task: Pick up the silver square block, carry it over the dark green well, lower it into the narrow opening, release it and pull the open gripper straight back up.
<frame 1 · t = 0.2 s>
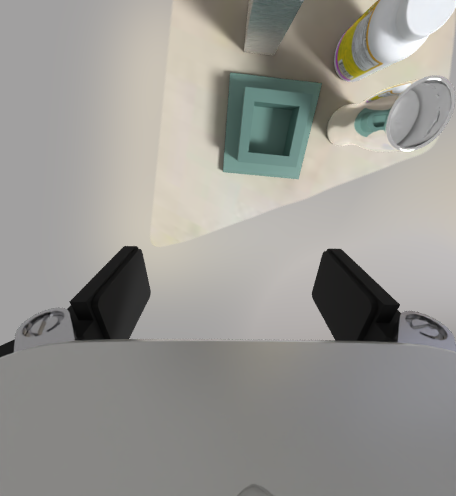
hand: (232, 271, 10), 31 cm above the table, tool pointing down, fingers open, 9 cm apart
supplement bottle: (354, 55, 30), on the table
beer glass: (344, 126, 34), on the table
well: (266, 131, 34), on the table
silver square block: (261, 32, 28), on the table
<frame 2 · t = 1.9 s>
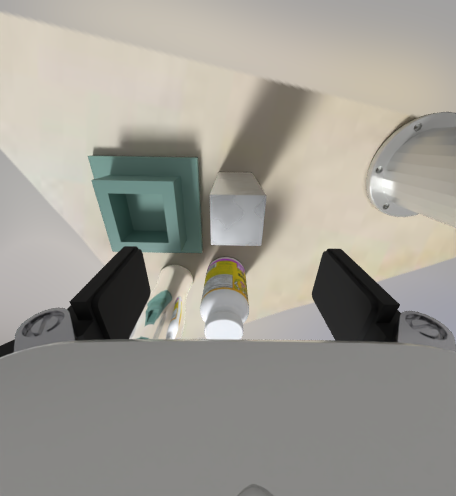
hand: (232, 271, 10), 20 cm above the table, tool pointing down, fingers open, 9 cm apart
supplement bottle: (226, 270, 35), on the table
beer glass: (176, 277, 36), on the table
well: (153, 208, 30), on the table
silver square block: (234, 188, 28), on the table
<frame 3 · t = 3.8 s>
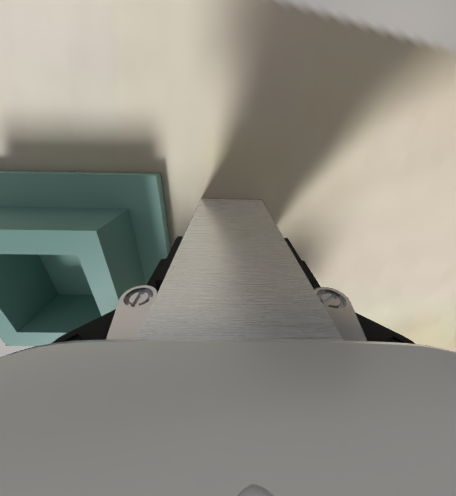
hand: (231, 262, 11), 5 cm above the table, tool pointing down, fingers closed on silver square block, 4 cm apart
well: (90, 257, 17), on the table
silver square block: (230, 227, 16), on the table, touching gripper
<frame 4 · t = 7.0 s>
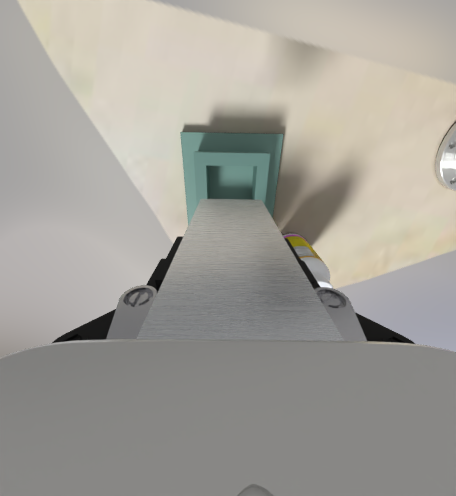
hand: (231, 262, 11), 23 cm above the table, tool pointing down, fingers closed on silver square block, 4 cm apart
supplement bottle: (288, 247, 37), on the table
well: (230, 184, 31), on the table
silver square block: (230, 227, 16), point 18 cm above the table, touching gripper
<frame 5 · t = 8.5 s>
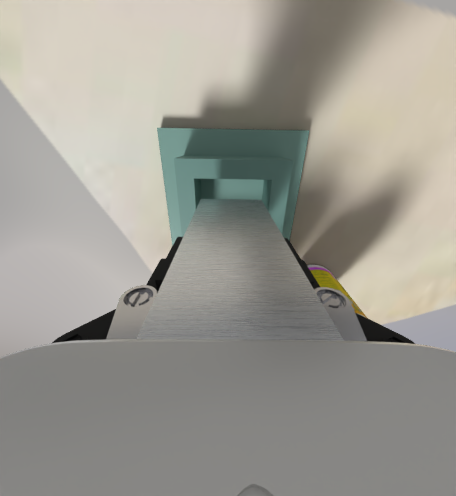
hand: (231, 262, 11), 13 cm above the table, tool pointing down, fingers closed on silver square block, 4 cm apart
supplement bottle: (307, 281, 28), on the table
well: (231, 201, 22), on the table
silver square block: (230, 227, 16), point 8 cm above the table, touching gripper
when the fingers open (7 cm above the table, at t = 10.0 s): silver square block stays where it is, resting on well.
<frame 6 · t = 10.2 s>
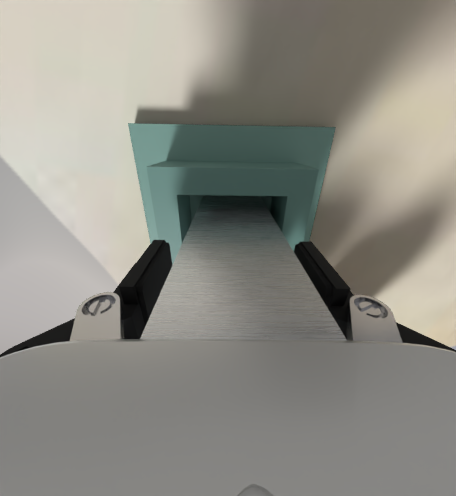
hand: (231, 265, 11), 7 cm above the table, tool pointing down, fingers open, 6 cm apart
well: (230, 218, 18), on the table
silver square block: (231, 222, 17), point 1 cm above the table, touching well
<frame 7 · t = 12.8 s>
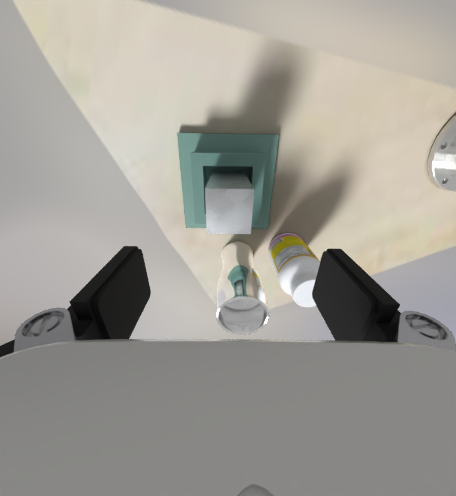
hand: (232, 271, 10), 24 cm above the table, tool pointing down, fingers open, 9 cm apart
supplement bottle: (285, 247, 37), on the table
beer glass: (237, 255, 38), on the table
well: (227, 184, 32), on the table
silver square block: (228, 186, 31), point 1 cm above the table, touching well
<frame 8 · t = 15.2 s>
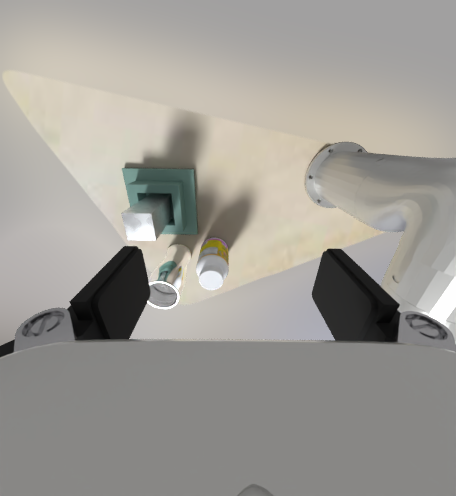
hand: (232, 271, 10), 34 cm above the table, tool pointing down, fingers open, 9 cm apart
supplement bottle: (214, 248, 49), on the table
beer glass: (179, 254, 50), on the table
well: (163, 202, 43), on the table
silver square block: (162, 204, 43), point 1 cm above the table, touching well
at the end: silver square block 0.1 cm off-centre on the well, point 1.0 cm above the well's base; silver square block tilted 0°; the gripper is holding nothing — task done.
